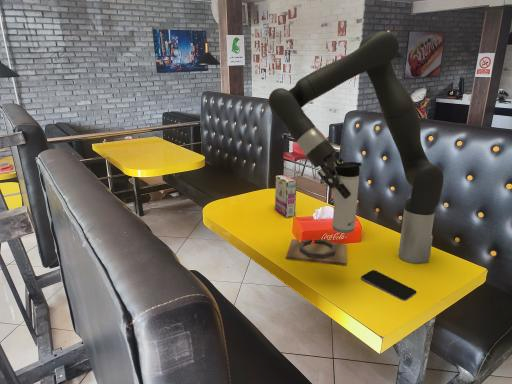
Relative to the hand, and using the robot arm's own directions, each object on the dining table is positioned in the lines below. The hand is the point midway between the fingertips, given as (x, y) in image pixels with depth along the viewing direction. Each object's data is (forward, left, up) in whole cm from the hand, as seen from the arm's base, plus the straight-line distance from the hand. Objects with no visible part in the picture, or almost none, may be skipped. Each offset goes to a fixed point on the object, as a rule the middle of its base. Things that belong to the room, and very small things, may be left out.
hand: (352, 193), depth 103 cm
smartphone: (-12, -1, -29) cm, 31 cm away
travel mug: (+2, -1, -12) cm, 12 cm away
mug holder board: (+10, -17, -28) cm, 34 cm away
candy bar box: (+27, -52, -28) cm, 65 cm away
